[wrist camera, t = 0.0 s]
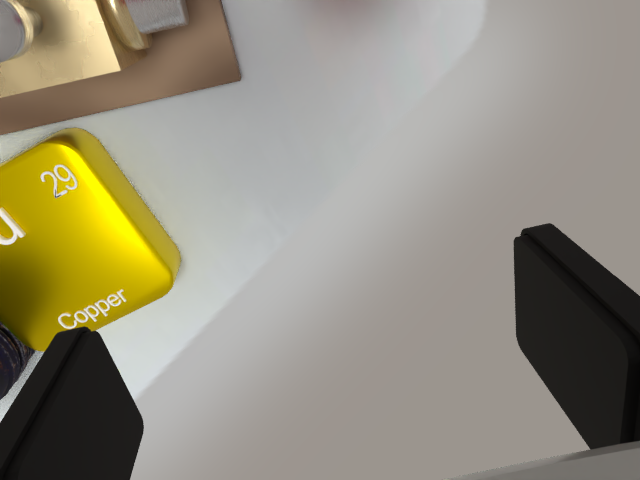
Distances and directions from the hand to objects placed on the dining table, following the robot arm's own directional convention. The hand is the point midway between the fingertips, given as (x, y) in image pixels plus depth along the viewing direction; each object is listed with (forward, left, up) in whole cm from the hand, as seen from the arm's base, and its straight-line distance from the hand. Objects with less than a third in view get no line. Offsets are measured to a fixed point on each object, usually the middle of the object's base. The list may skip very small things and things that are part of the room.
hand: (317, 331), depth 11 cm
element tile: (+8, -21, -32) cm, 39 cm away
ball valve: (-8, -13, -30) cm, 33 cm away
